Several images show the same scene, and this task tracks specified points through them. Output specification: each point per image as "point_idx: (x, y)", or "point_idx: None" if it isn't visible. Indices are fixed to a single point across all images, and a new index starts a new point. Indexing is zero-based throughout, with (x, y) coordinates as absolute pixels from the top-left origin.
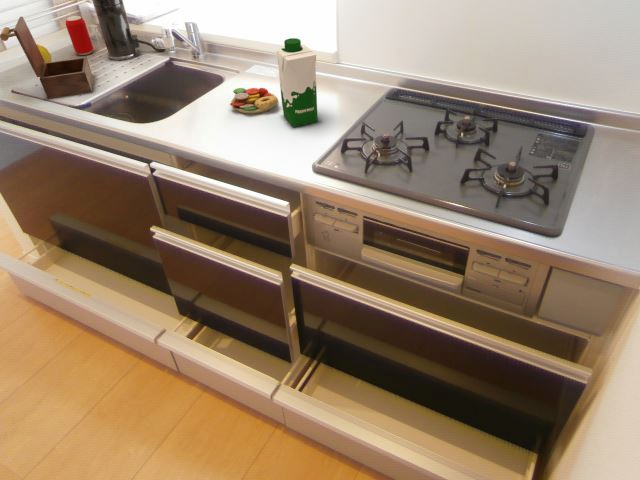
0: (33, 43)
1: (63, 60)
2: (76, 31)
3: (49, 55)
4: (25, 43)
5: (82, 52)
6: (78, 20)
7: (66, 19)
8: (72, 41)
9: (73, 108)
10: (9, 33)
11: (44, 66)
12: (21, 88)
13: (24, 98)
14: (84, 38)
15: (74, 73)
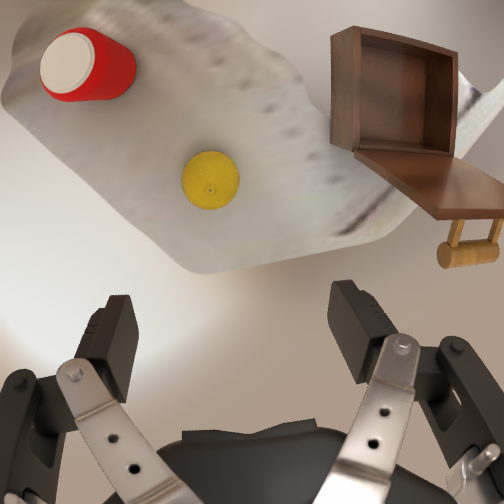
0: (414, 171)
1: (356, 93)
2: (116, 59)
3: (217, 152)
4: (498, 187)
5: (135, 70)
6: (91, 37)
7: (68, 91)
8: (113, 91)
9: (476, 102)
10: (472, 241)
11: (382, 149)
12: (335, 215)
13: (396, 199)
14: (120, 45)
15: (457, 76)
